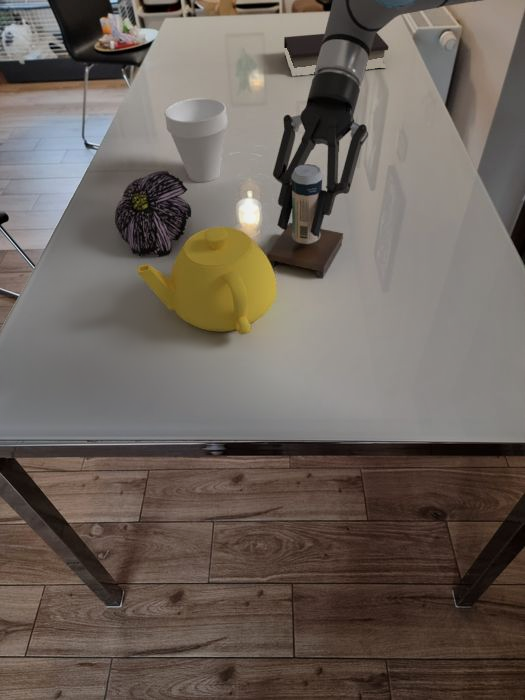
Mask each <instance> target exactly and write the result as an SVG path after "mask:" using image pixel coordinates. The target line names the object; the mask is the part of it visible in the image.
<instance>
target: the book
mask: <svg viewBox="0 0 525 700" xmlns="http://www.w3.org/2000/svg"><path fill="white" fill-rule="evenodd" d="M324 34H325V33H317V34H307V35H306V34H305V35H293V36H284V38H283V49H284V48H287V50H288V52H289V55H290V58H291V61H292V63H293V66H294V68H297V67H306V66H312V65H317V61H318V57H319V53H320V50H321V46H322V42H323V38H324ZM385 51H389V45H388V44H387V42H386V41H385V40H384V39H383V38H382V37H381V36H380V35H379V34H378V32H377V33H376V34H375V37H374V40H373V44H372V47H371V51H370V54H369V59H368V60H372V59H377V58H383V57H384V58H385Z"/></svg>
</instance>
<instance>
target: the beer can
mask: <svg viewBox="0 0 525 700" xmlns="http://www.w3.org/2000/svg"><path fill="white" fill-rule="evenodd" d="M291 178H292V211H291V223H292V238H293V239H294V240H295V241H296V242H299V243H302V244H310V243H313V242H316V241H317V240H318V239H319V238H320V233H319V237H318V236H314V235H313V234H312V233H311V232H310V230H311V226H312V223H313V219H314V215H315V211H316V208H317V204H318V200H319V196H320V192H321V190H323V179H324V174H323V172H322V170H321V169H320V167H319V166H317V165H316V164H311V163H305V164H304V165H299V166H298V167H296V168H295V170H294V172H293V173H292V176H291Z"/></svg>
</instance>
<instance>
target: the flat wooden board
mask: <svg viewBox="0 0 525 700" xmlns="http://www.w3.org/2000/svg"><path fill="white" fill-rule="evenodd" d="M343 239H344V233H343V232H340V231H339V232H337V231H333V230H328V229H323V228H321V229H320V238H319V239H318V240H317V241H316V242H313V243H310V244H302V243H299V242H296V241H295V240H294V239H293V238H292V222H288V226H287V230H284V229H283V231H282V233H281V234H280V235H279V237H278V238H277V239H276V241H275V242H274V243H273V245H272V246H271V248H270V249H269V251H268V252H267V254H266V256H267V258H268V260H269V262H270V264H271V266H272V268H275V267H276V266H277V265H278V264H279V263H281V264H286V265H290V266H295V267H298V268H303V269H308V270H313V271H315V272H316V275H315V276H316V278H319V279H324V278H325V276H326V274H327V272H328V270H329V268H330V267H331V265H332V264H333V261H334V260H335V258H336V256H337V255H338V252H339V251H340V249H341V247H342V245H343Z"/></svg>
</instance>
